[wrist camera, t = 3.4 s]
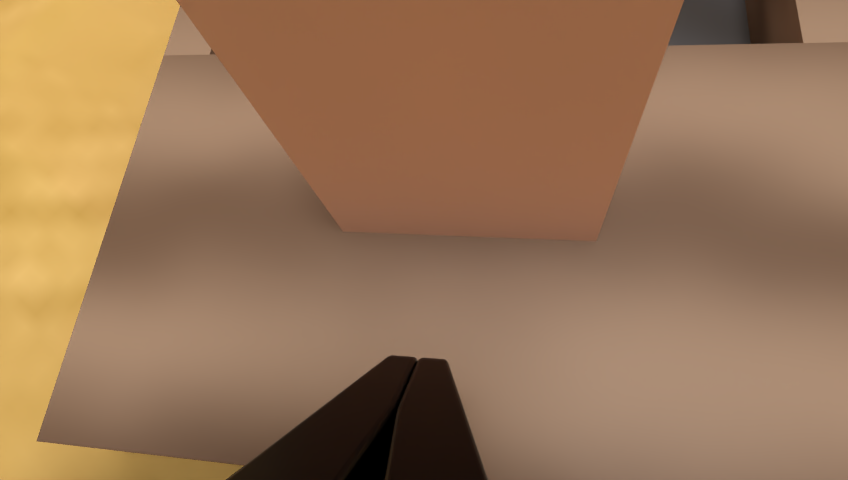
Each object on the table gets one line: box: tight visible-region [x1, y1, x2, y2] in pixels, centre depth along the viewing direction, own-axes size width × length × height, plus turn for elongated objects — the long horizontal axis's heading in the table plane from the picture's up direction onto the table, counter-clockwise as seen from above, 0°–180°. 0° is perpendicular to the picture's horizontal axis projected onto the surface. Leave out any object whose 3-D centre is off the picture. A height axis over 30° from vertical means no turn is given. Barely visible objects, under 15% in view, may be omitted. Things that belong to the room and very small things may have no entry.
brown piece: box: [37, 0, 848, 480], centre depth 16 cm, size 25×19×6 cm
